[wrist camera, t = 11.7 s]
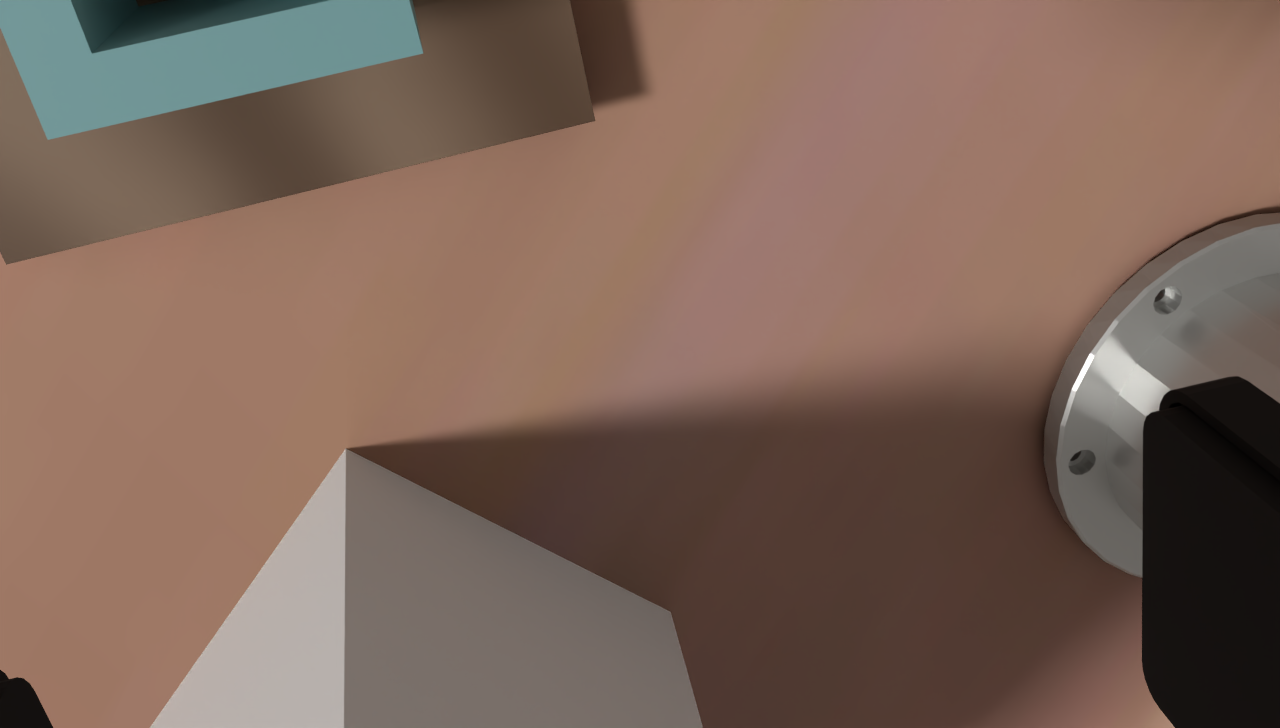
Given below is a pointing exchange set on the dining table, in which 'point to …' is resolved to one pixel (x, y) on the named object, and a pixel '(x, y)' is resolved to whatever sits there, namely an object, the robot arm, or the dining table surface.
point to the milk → (429, 628)
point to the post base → (292, 129)
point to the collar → (188, 51)
